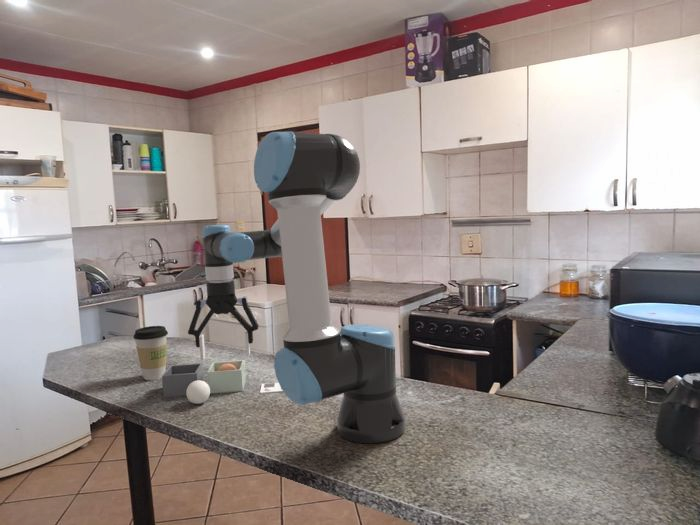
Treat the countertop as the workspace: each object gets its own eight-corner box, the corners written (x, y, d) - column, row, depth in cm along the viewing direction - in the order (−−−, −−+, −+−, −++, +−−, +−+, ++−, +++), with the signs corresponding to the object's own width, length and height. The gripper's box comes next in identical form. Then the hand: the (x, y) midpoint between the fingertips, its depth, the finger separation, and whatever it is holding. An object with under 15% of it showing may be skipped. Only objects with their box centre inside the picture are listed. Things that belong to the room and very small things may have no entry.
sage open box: (242, 391, 140) (241, 369, 139) (208, 393, 139) (207, 372, 138) (246, 379, 149) (244, 360, 148) (214, 382, 148) (212, 362, 147)
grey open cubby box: (198, 394, 139) (196, 373, 138) (163, 397, 138) (161, 376, 137) (204, 383, 148) (202, 363, 147) (172, 385, 147) (170, 365, 146)
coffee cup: (172, 379, 153) (168, 330, 151) (137, 384, 149) (132, 334, 147) (170, 369, 162) (166, 323, 160) (137, 374, 158) (133, 327, 156)
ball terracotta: (237, 387, 141) (236, 366, 140) (215, 389, 140) (213, 368, 140) (239, 380, 147) (238, 360, 146) (218, 381, 146) (217, 361, 146)
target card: (293, 390, 138) (293, 389, 138) (260, 393, 137) (259, 392, 137) (293, 381, 145) (293, 380, 145) (261, 384, 144) (261, 383, 144)
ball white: (208, 406, 130) (207, 383, 129) (184, 408, 129) (183, 385, 128) (212, 397, 136) (211, 376, 135) (189, 399, 135) (188, 378, 134)
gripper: (264, 276, 145) (269, 349, 148) (178, 281, 143) (184, 355, 145) (263, 279, 138) (268, 357, 140) (172, 285, 136) (178, 363, 138)
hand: (225, 356), depth 143 cm, fingers open, 12 cm apart
